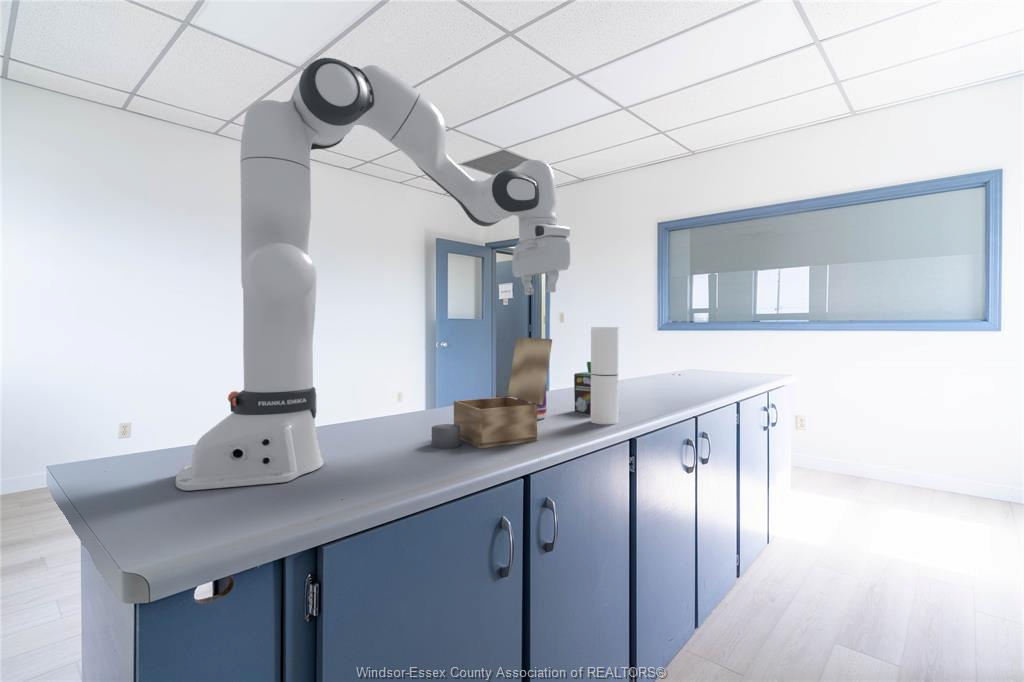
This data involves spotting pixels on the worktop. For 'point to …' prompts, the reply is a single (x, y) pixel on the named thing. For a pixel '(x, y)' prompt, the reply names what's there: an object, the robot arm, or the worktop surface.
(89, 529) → the worktop surface
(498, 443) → the box
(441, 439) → the smooth gray rounded object
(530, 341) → the lid
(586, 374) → the chalk box
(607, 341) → the cylindrical container
